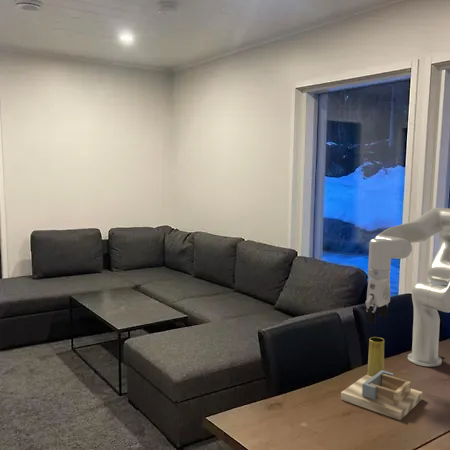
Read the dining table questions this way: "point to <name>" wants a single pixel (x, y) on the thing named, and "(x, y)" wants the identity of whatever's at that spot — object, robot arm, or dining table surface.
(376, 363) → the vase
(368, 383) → the grey bracket
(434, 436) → the dining table surface
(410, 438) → the dining table surface
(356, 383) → the board
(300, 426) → the dining table surface
